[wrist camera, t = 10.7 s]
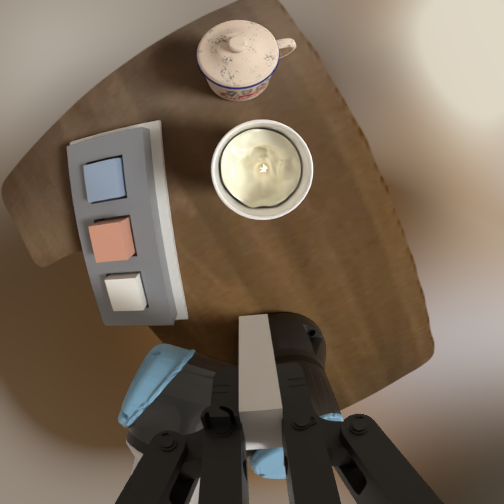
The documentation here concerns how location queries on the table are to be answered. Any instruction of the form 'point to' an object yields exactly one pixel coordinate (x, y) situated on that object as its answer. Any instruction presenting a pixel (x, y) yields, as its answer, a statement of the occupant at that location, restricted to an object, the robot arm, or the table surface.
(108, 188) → the blue key
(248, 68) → the teacup with lid
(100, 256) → the terracotta key
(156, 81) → the table surface
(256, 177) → the candle holder
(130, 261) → the key console
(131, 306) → the white key
